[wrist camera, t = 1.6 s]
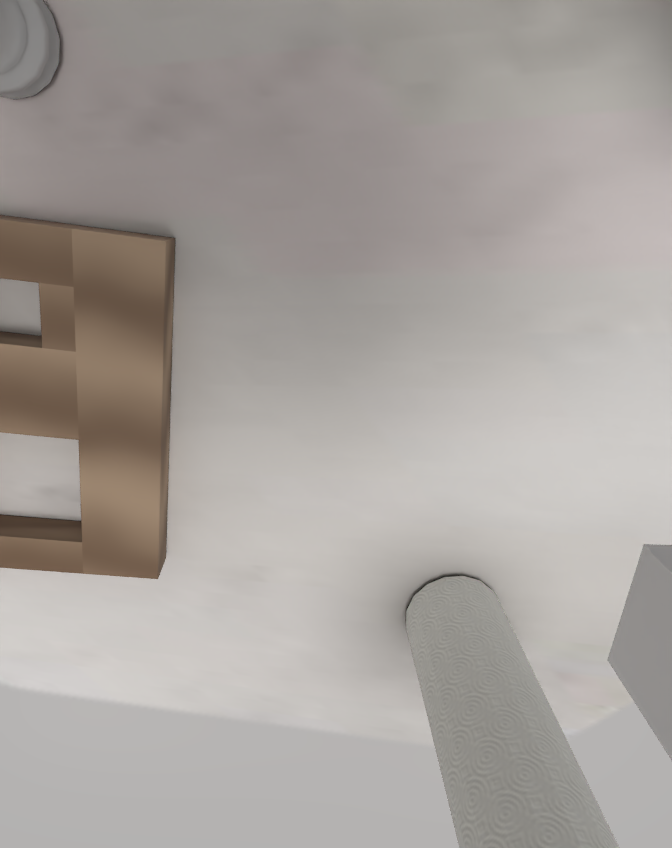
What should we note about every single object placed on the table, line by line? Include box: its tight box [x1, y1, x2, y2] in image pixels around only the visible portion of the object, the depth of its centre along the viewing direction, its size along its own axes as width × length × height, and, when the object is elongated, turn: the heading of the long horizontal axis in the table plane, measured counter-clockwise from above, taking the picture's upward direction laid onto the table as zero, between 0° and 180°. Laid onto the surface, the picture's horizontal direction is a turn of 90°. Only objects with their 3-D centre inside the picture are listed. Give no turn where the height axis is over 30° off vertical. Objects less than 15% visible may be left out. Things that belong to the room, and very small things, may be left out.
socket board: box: [0, 215, 175, 579], centre depth 29 cm, size 18×14×2 cm
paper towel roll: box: [406, 576, 619, 848], centre depth 26 cm, size 7×6×21 cm
